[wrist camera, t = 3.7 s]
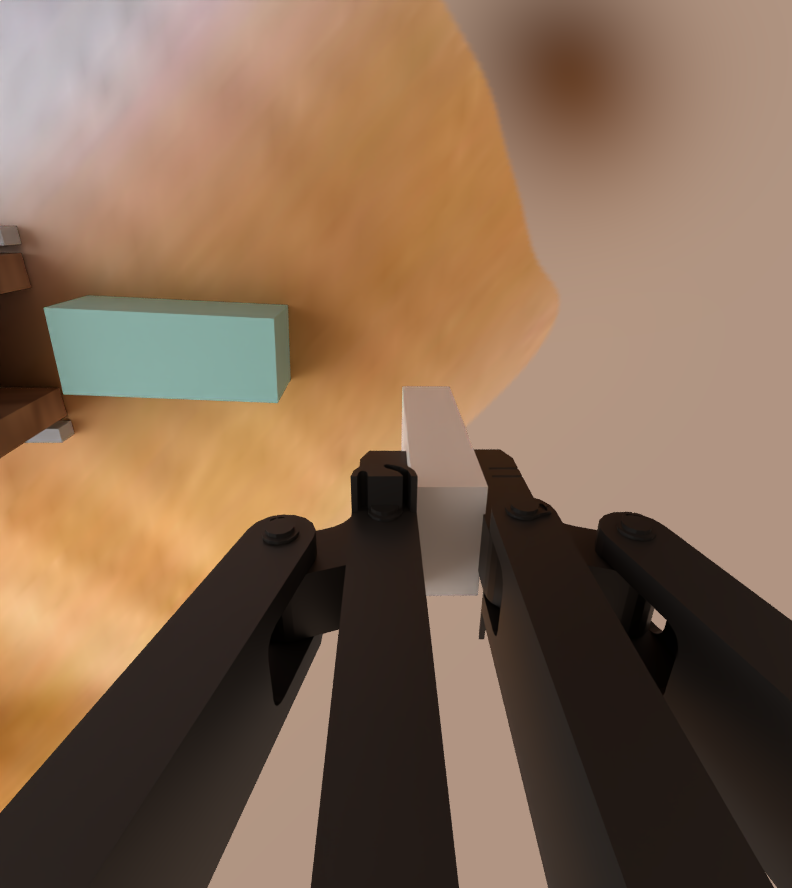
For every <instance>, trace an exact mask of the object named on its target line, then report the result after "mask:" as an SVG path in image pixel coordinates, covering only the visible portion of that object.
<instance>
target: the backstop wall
mask: <svg viewBox="0 0 792 888" xmlns="http://www.w3.org/2000/svg"><path fill="white" fill-rule="evenodd" d="M17 244H21V241H20V237H19V233H18V230H17V226H0V245H17ZM72 435H74V430H73V426H72V423H71V421H57V422H56V423H54V424H53V425H51V426H50V427H48V428H46V429H45V430H43V431H42V432H40V433H39V434H37V435H36V436H34V437H32V438H31V439H29V440H28V441H26V442H25V443H61V442H64V441H65V440H67V439H68V438H69V437H71V436H72Z"/></svg>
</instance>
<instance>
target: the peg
mask: <svg viewBox="0 0 792 888" xmlns="http://www.w3.org/2000/svg"><path fill="white" fill-rule="evenodd" d="M44 313H45V317H46V321H47V326H48V330H49V334H50V339H51V343H52V347H53V352H54V356H55V360H56V364H57V369H58V373H59V377H60V382H61V386H62V390H63V394H65V395H91V396H116V397H141V398H166V399H191V400H216V401H241V402H266V403H278V402H279V400H280V398H281V396H282V394H283V393H284V391H285V389H286V387H287V385H288V383H289V382H290V380H291V376H290V348H289V320H288V305H279V304H259V303H238V302H218V301H197V300H177V299H156V298H136V297H115V296H95V295H88V296H84V297H80V298H77V299H73V300H69V301H66V302H62V303H59V304H55V305H51V306H48V307H44Z"/></svg>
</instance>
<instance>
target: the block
mask: <svg viewBox="0 0 792 888" xmlns="http://www.w3.org/2000/svg"><path fill="white" fill-rule="evenodd" d="M27 288H31V286H30V282H29V279H28V275H27V272H26V268H25V265H24V261H23V257H22V254H21V253H0V294H3V293H7V292H12V291H17V290H22V289H27ZM65 416H67V414H66V410H65V406H64V403H63V399H62V396H61V392H60V389H59V388H0V458H1V457H3V456H4V455H6V454H7V453H9V452H11V451H12V450H14V449H15V448H17V447H18V446H20V445H22V444H23V443H25V442H26V441H28V440H29V439H31V438H32V437H34V436H36V435H37V434H39V433H40V432H42V431H43V430H45V429H46V428H48V427H50V426H51V425H53V424H54V423H56V422H57V421H59V420H60V419H62V418H64V417H65Z"/></svg>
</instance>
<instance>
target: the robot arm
mask: <svg viewBox="0 0 792 888" xmlns="http://www.w3.org/2000/svg"><path fill="white" fill-rule="evenodd" d="M351 502H352V515H351V517H350V518H349V519H348V520H347V521H345V522H344V523H342V524H339V525H337V526H335V527H331V528H328V529H323V530H318V531H316V530H315V528H314V525H313V523H312V522H310V521H309V520H307V519H306V518H303V517H299V516H296V515H277V516H272V517H268V518H266V519H263V520H261V521H258V522H256V523H255V524H254V525H253V526H251V527H250V528H249V529H248V530H247V531H246V532H245V533H244V534H243V536H242V537H241V538H240V539H239V540H238V541H237V543H236V544H235V545H234V546H233V547H232V548H231V549H230V551H229V552H228V553H227V554H226V555H225V556H224V557H223V559H222V560H221V561H220V562H219V563H218V564H217V565H216V567H215V568H214V569H213V570H212V571H211V572H210V573H209V575H208V576H207V577H206V578H205V579H204V580H203V581H202V583H201V584H200V585H199V586H198V587H197V588H196V589H195V591H194V592H193V593H192V594H191V595H190V596H189V597H188V599H187V600H186V601H185V602H184V603H183V604H182V605H181V607H180V608H179V609H178V610H177V611H176V612H175V614H174V615H173V616H172V617H171V618H170V619H169V620H168V622H167V623H166V624H165V625H164V626H163V627H162V628H161V630H160V631H159V632H158V633H157V634H156V635H155V636H154V638H153V639H152V640H151V641H150V642H149V643H148V644H147V646H146V647H145V648H144V649H143V650H142V651H141V652H140V654H139V655H138V656H137V657H136V658H135V659H134V660H133V662H132V663H131V664H130V665H129V666H128V667H127V668H126V670H125V671H124V672H123V673H122V674H121V675H120V676H119V678H118V679H117V680H116V681H115V682H114V683H113V685H112V686H111V687H110V688H109V689H108V690H107V691H106V693H105V694H104V695H103V696H102V697H101V698H100V699H99V701H98V702H97V703H96V704H95V705H94V706H93V707H92V709H91V710H90V711H89V712H88V713H87V714H86V715H85V717H84V718H83V719H82V720H81V721H80V722H79V723H78V725H77V726H76V727H75V728H74V729H73V730H72V731H71V733H70V734H69V735H68V736H67V737H66V738H65V739H64V741H63V742H62V743H61V744H60V745H59V746H58V748H57V749H56V750H55V751H54V752H53V753H52V754H51V756H50V757H49V758H48V759H47V760H46V761H45V762H44V764H43V765H42V766H41V767H40V768H39V769H38V770H37V772H36V773H35V774H34V775H33V776H32V777H31V778H30V780H29V781H28V782H27V783H26V784H25V785H24V786H23V788H22V789H21V790H20V791H19V792H18V793H17V794H16V796H15V797H14V798H13V799H12V800H11V801H10V802H9V804H8V805H7V806H6V807H5V808H4V809H3V810H2V812H1V813H0V888H207V887H208V885H209V883H210V880H211V878H212V876H213V874H214V872H215V870H216V868H217V865H218V863H219V861H220V859H221V857H222V854H223V853H224V850H225V848H226V846H227V844H228V842H229V840H230V837H231V835H232V833H233V831H234V829H235V827H236V825H237V822H238V820H239V818H240V816H241V814H242V812H243V810H244V807H245V805H246V803H247V801H248V799H249V797H250V794H251V792H252V790H253V788H254V786H255V784H256V781H257V779H258V777H259V775H260V773H261V771H262V768H263V766H264V764H265V762H266V760H267V758H268V756H269V754H270V752H271V749H272V747H273V745H274V743H275V741H276V738H277V737H278V734H279V732H280V730H281V728H282V726H283V724H284V721H285V719H286V717H287V715H288V713H289V711H290V708H291V706H292V704H293V702H294V700H295V698H296V696H297V693H298V691H299V689H300V687H301V685H302V683H303V681H304V678H305V676H306V674H307V672H308V670H309V668H310V666H311V663H312V661H313V659H314V657H315V655H316V652H317V650H318V648H319V646H320V644H321V639H322V635H323V634H324V633H327V632H331V631H335V630H338V629H339V635H338V644H337V653H336V662H335V671H334V680H333V689H332V698H331V708H330V718H329V726H328V736H327V744H326V753H325V763H324V772H323V781H322V790H321V799H320V808H319V817H318V827H317V836H316V845H315V854H314V864H313V872H312V882H311V888H459V884H458V875H457V866H456V857H455V848H454V840H453V831H452V822H451V813H450V804H449V795H448V786H447V777H446V768H445V760H444V751H443V743H442V733H441V724H440V715H439V706H438V697H437V689H436V680H435V671H434V662H433V653H432V644H431V635H430V627H429V617H428V608H427V599H426V596H432V595H433V596H439V595H440V596H442V595H478V586H479V576H480V580H481V584H482V587H483V598H482V609H481V618H480V629H479V639H484V635H485V630H486V632H487V636H488V640H489V644H490V648H491V652H492V657H493V660H494V665H495V669H496V673H497V677H498V681H499V685H500V690H501V694H502V698H503V702H504V706H505V710H506V714H507V718H508V723H509V727H510V731H511V735H512V739H513V744H514V748H515V752H516V756H517V760H518V764H519V768H520V773H521V777H522V781H523V785H524V789H525V793H526V797H527V802H528V806H529V810H530V814H531V818H532V822H533V826H534V831H535V835H536V839H537V843H538V847H539V851H540V855H541V860H542V864H543V867H544V872H545V876H546V880H547V884H548V888H774V887H773V885H772V883H771V882H770V880H769V878H768V877H767V875H768V876H769V877H770V879H771V880H772V881H773V883H774V884H775V885H776V886H777V888H792V620H790V619H789V618H787V617H786V616H785V615H783V614H782V613H781V612H779V611H778V610H777V609H775V608H774V607H772V606H771V605H770V604H769V603H767V602H766V601H765V600H763V599H762V598H761V597H759V596H758V595H757V594H755V593H754V592H753V591H751V590H750V589H749V588H747V587H746V586H744V585H743V584H742V583H741V582H739V581H738V580H736V579H735V578H734V577H733V576H731V575H730V574H729V573H727V572H726V571H724V570H723V569H722V568H720V567H719V566H718V565H716V564H715V563H714V562H712V561H711V560H710V559H708V558H707V557H706V556H704V555H703V554H701V553H700V552H699V551H697V550H696V549H695V548H694V547H692V546H691V545H690V544H688V543H687V542H686V541H684V540H683V539H682V538H680V537H679V536H678V535H676V534H675V533H674V532H672V531H671V530H669V529H668V528H667V527H665V526H664V525H662V524H661V523H659V522H657V521H655V520H654V519H651V518H648V517H645V516H643V515H641V514H638V513H632V512H613V513H610V514H607V515H604V516H603V517H602V518H601V519H600V520H599V524H598V529H597V530H593V529H587V528H582V527H576V526H572V525H568V524H564V523H563V522H562V521H561V519H560V517H559V516H558V514H557V512H556V511H555V510H554V509H553V508H552V507H551V506H550V505H549V504H547V503H545V502H543V501H542V500H540V499H536V498H533V496H532V494H531V492H530V490H529V488H528V486H527V484H526V483H525V481H524V479H523V477H522V475H521V473H520V471H519V470H518V469H517V466H516V464H515V462H514V460H513V458H512V457H510V456H509V455H507V454H506V453H504V452H503V451H501V450H474V449H473V447H472V444H471V441H470V439H469V436H468V433H467V431H466V428H465V426H464V423H463V420H462V418H461V415H460V413H459V410H458V407H457V405H456V402H455V400H454V397H453V394H452V392H451V389H450V387H442V386H402V451H369V452H368V453H366V454H365V455H364V456H363V457H362V458H361V459H360V467H359V468H357V469H355V470H354V471H353V473H352V475H351ZM654 608H655V609H656V610H657V611H658V612H659V613H660V614H661V615H662V616H663V617H664V618H665V619H666V620H667V621H666V625H665V628H664V630H663V631H662V630H660V629H659V628H658V627H657V626H656V625H655V624H654V623H653V622H652V621H651V618H652V615H653V611H654ZM766 874H767V875H766Z"/></svg>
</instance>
